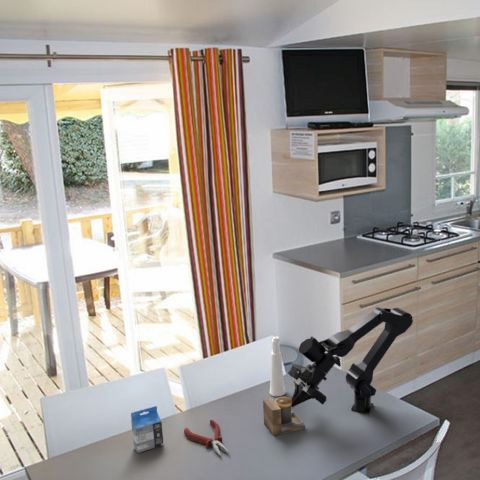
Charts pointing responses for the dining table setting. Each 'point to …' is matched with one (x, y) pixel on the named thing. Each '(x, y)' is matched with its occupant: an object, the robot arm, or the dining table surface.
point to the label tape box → (146, 429)
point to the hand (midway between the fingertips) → (291, 405)
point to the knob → (285, 410)
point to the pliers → (208, 441)
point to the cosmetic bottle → (276, 370)
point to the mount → (278, 419)
